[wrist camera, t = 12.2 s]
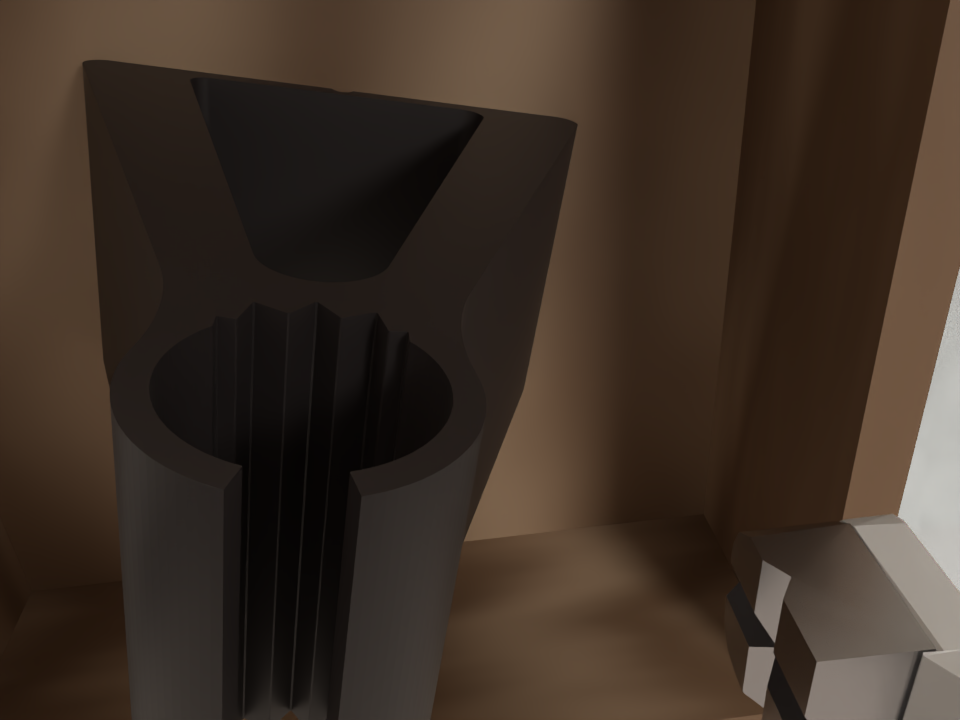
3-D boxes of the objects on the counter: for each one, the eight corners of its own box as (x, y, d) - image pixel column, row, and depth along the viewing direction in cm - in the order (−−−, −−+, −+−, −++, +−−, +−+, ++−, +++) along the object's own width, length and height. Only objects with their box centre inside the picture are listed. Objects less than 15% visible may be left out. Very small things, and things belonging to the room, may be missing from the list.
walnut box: (827, -370, 14) (1159, -536, 8) (723, 514, 24) (843, 734, 18) (-387, -318, 13) (-1038, -471, 7) (17, 595, 23) (-112, 862, 17)
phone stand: (574, 119, 17) (894, 523, 7) (520, 380, 20) (683, 945, 10) (88, 54, 15) (-482, 446, 5) (106, 347, 18) (-236, 979, 8)
